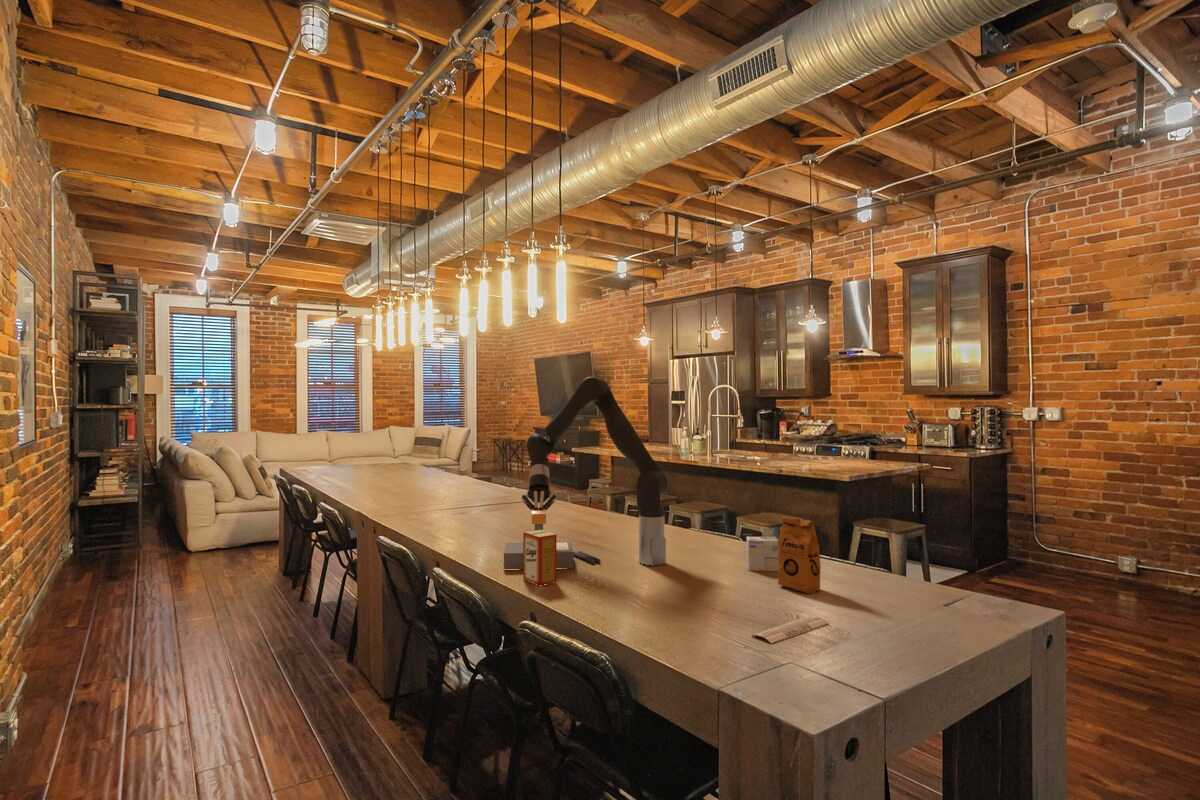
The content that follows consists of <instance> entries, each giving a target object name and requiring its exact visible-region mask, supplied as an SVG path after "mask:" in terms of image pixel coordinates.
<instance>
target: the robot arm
mask: <svg viewBox="0 0 1200 800" xmlns="http://www.w3.org/2000/svg"><path fill="white" fill-rule="evenodd" d="M591 402H593V403H594V404H595V406H596V408H597V409H598V410H599V411H600V413H601V415H602V417H603V420H604V423H605V426H606V430H607V434H608V435H609V438H610V439H611V441H612V443H613V444H614V446H615V447H616V449H617V450H618V451H619V452H620V453H621V454H622V455H623V456H624V457H625V458H626V459H627V460H628V461H629V462H631V463H632V464H633V465H634V466H635V468H636V469H637V471H638V472H639V476H638V477H637V479H636V485H635V486H636V488H635V490H636V491H635V494H636V507H637V509H638V563H639V564H640V563H641V564H640V565H643V564H645V565H644V566H649V565H651V566H650V567H655V565H657V566H662V564H663V565H666V564H667V561H666V560H667V542H666V541H667V538H666V537H665V507H663V506H662V504H661V495H663V494H664V493H665V492H666V491H667V489H668V487H669V483H668V478H667V476H666V474H665V473H664V472H663V470H662V469H661V467H660V466H659V464H657V462H656V461H655V460H654V458H653V457H652V455H651V454H650V452H649V451H648V450H647V448H646V446H645V445H644V443H643V442H642V440H641V438H640V436H639V435H638V433H637V431H636V430H635V428H634V426H633V425H632V423H631V422H630V420H629V419H628V417H627V416H626V414H625V413H624V411H623V410H622V409H621V408H620V406H619V404H618V403H617V400H616V399H615V396H614V395H613V392H612V390H611V388H610V387H609V384H608V383H607V381H606V380H604V379H603V378H600V377H596V376H588V377H585V378H584V379H582V381H581V383H579V386H578V387H577V388H576V390H575V391H574V392H573V394H572V396H571V397H570V398H569V399H568V401H567V402H566V404H565V405H564V406H563V407H562V409H561V410H560V411H559V412H558V413H557V414H556V415H555V416H554V417H553V418H552V419H551V421H549V423H548V424H547V425H546V426H545V427H544V431H545V434H547V436H548V438H546V437H544V436H542V435H541V434H539V433H533V434H530V436H529V437H528V439H527V441H526V450H527V454H528V458H529V461H530V463H529V464H530V465H529V467H530V468H529V475H528V491H527V493H526V494H522V495H521V501H522V502H523V504H524V505H525V506H526V507H527V508H528V509H529V510H530V511H540V510H546V511H547V510H548V509H550V507H552V505H553V504H554V503H555V502H556V500H557V496H556V495H555V494H552V493H551V491H550V470H549V469H550V467H549V466H550V464H549V463H550V461H549V457H548V456H550V455H551V454H552V453H553V452H554V449H555V447H556V445H557V444H558V442H559V440H560V439H561V437H563V435H565V433H566V432H567V431H568V430H569V429H570V428H571V426H572V425H573V424H574V422H575V419H576V418H577V416H578V415H579V413H580V412H581V410H582V409H584V408H585V407H586V406H587V405H588V404H589V403H591ZM530 500H531V501H530ZM533 503H534V504H533Z"/></svg>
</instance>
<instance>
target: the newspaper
mask: <svg viewBox="0 0 1200 800" xmlns="http://www.w3.org/2000/svg"><path fill="white" fill-rule="evenodd" d="M826 624H827V625H829V622H828V620H826V619H824V618H823V617H820V616H814V615H808V616H805V617H802V618H799V619H796V620H794V621H790V622H788V623H784V624H781V625H778V626H775V627H772V628H769V629H766V630H763V631H760V632H757V633H754V634H752V635H751V637H752V636H753V637H752V638H756V636H757V637H760V638H761V637H762V638H764V639H766V640H767V641H768V642H769V644H770V643H771V644H770V645H773V644H775V643H774V642H776V643H778V642H777V641H779V642H781V641H784V640H787V639H790V638H792V636H793V637H796V636H799V635H801V634H800V633H802V634H804V633H807V632H810V631H813V630H815V628H816V629H818V627H819V628H821V626H822V627H824V626H827V625H826ZM823 625H824V626H823ZM812 629H813V630H812ZM806 631H807V632H806ZM803 632H804V633H803ZM798 634H799V635H798ZM795 635H796V636H795ZM789 637H790V638H789ZM786 638H787V639H786ZM783 639H784V640H783ZM780 640H781V641H780ZM772 643H773V644H772Z"/></svg>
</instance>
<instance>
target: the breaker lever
mask: <svg viewBox="0 0 1200 800" xmlns="http://www.w3.org/2000/svg"><path fill="white" fill-rule="evenodd" d="M546 524H547V510H540V511H539V510H538V511H534V510H531V525H534V531H535V530H544V525H546Z"/></svg>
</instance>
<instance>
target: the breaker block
mask: <svg viewBox="0 0 1200 800" xmlns="http://www.w3.org/2000/svg"><path fill="white" fill-rule="evenodd" d="M504 546H505V547H504V552H503V570H504V569H523V542H505V545H504ZM573 552H574V549H573V543H572V541H556V568H573V569H574V556H573Z"/></svg>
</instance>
